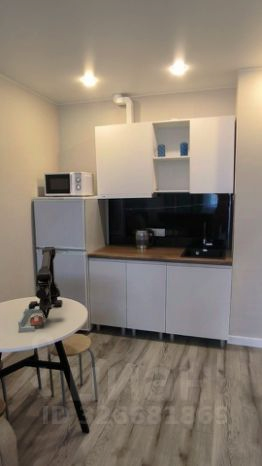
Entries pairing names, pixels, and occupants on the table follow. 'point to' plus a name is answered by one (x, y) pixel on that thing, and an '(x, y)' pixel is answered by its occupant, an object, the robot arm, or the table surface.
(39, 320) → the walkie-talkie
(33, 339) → the table surface
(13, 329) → the table surface
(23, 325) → the mounting bracket
